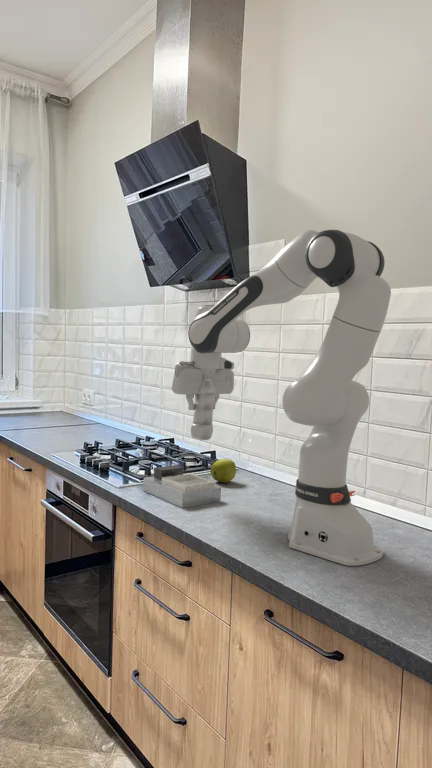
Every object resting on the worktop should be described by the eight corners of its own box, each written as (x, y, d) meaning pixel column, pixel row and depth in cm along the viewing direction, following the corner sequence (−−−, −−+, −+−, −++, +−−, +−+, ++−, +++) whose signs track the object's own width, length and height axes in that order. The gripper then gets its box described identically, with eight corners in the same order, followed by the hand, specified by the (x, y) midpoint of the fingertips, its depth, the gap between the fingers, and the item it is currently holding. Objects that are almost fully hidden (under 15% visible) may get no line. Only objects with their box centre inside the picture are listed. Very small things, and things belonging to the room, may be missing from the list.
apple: (241, 483, 177) (242, 460, 177) (219, 486, 172) (220, 462, 172) (227, 478, 184) (229, 455, 183) (205, 480, 179) (207, 457, 178)
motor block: (220, 500, 156) (221, 477, 156) (181, 507, 147) (183, 482, 147) (174, 482, 174) (175, 461, 173) (137, 488, 165) (138, 465, 164)
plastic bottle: (186, 439, 153) (192, 370, 150) (195, 435, 159) (201, 369, 157) (206, 443, 151) (213, 373, 148) (215, 439, 157) (222, 372, 155)
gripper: (182, 361, 144) (178, 412, 146) (238, 363, 157) (234, 410, 159) (169, 360, 149) (166, 408, 150) (224, 362, 162) (221, 406, 163)
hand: (201, 409), depth 155 cm, fingers closed on plastic bottle, 6 cm apart
